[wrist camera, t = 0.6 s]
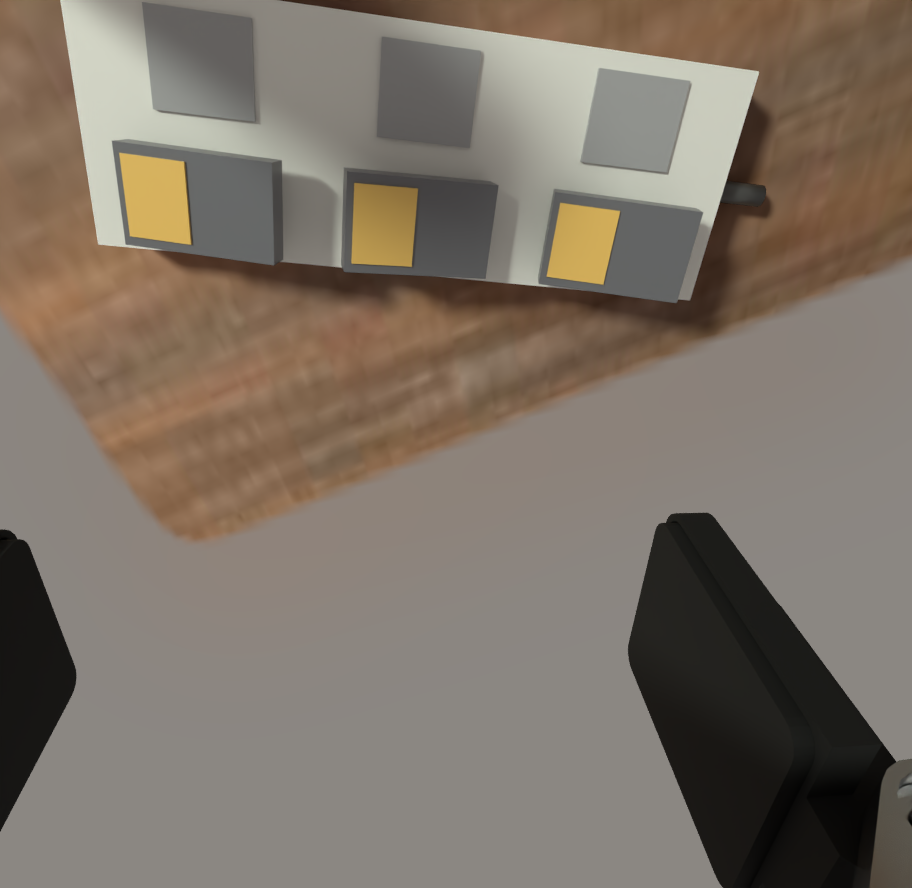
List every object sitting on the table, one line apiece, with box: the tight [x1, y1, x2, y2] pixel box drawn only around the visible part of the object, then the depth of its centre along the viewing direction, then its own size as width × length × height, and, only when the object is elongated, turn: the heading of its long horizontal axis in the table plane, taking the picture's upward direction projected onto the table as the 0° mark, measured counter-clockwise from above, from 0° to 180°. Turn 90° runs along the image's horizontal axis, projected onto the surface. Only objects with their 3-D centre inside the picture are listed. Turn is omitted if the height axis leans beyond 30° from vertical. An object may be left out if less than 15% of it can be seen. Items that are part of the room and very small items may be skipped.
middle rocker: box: [341, 167, 499, 279], centre depth 27 cm, size 6×4×1 cm, turn 84°
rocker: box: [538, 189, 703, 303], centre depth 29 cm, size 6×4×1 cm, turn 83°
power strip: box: [61, 0, 766, 301], centre depth 29 cm, size 31×10×3 cm, turn 83°
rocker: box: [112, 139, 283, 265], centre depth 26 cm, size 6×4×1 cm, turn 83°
